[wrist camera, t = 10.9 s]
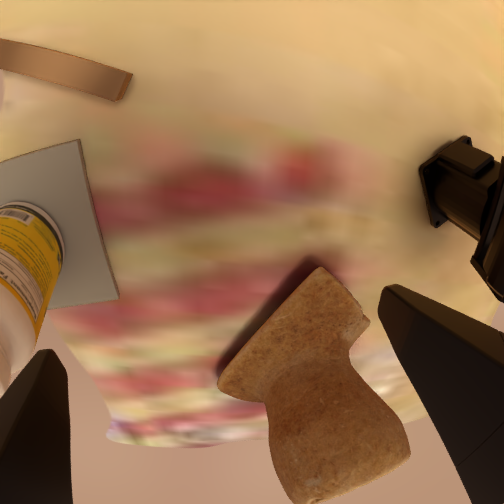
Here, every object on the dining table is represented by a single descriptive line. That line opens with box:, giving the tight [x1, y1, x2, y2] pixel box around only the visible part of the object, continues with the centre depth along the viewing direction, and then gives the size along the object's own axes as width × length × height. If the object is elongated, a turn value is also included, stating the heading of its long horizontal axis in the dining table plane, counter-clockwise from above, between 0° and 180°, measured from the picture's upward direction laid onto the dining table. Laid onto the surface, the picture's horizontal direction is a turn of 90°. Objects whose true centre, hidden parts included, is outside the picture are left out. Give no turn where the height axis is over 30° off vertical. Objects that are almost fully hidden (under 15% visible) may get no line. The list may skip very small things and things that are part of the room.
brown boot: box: [217, 267, 411, 504], centre depth 22 cm, size 15×12×15 cm
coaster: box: [0, 139, 119, 310], centre depth 17 cm, size 11×11×1 cm
